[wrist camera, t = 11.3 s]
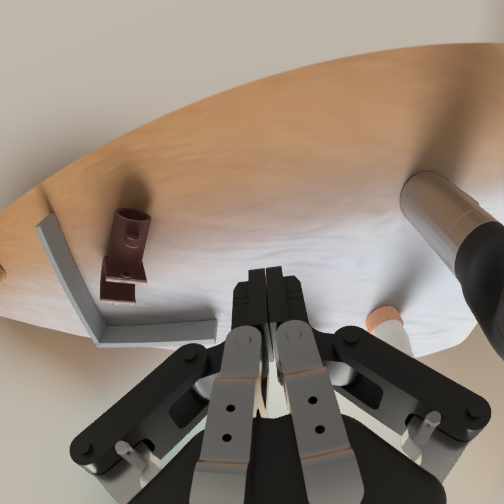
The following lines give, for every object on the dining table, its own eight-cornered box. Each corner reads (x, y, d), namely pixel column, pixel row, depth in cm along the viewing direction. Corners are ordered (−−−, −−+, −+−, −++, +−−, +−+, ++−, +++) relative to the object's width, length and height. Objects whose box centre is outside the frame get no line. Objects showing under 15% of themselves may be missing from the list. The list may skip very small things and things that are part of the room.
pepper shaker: (362, 333, 62) (388, 410, 46) (368, 307, 58) (399, 387, 42) (394, 328, 62) (424, 401, 45) (401, 303, 58) (438, 378, 41)
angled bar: (182, 186, 45) (175, 199, 41) (217, 324, 59) (215, 343, 55) (49, 213, 46) (35, 227, 42) (104, 330, 61) (97, 347, 57)
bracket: (98, 292, 52) (101, 327, 44) (112, 201, 47) (114, 223, 39) (130, 295, 55) (138, 329, 47) (148, 207, 50) (158, 229, 42)
